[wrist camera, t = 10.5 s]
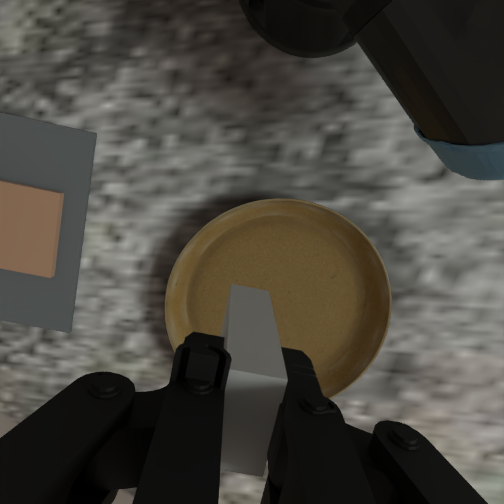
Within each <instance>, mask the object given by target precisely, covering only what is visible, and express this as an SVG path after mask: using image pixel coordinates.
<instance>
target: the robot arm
mask: <svg viewBox="0 0 504 504" xmlns="http://www.w3.org/2000/svg"><path fill="white" fill-rule="evenodd" d="M239 1H240V4H241V7H242V9H243V11H244V13H245V15H246V17H247V19H248V20H249V22H250V23H251V25H252V26H253V28H254V29H255V30H256V31H257V32H258V33H259V35H260V36H261V37H262V38H264V39H265V40H266V41H267V42H268V43H270V44H271V45H273V46H274V47H276V48H277V49H279V50H281V51H283V52H286V53H288V54H291V55H295V56H300V57H307V58H318V57H325V56H330V55H333V54H336V53H339V52H342V51H344V50H346V49H348V48H349V47H351V46H353V45H354V44H356V43H358V44H359V46H360V47H361V49H362V50H363V52H364V53H365V54H366V56H367V57H368V59H369V60H370V62H371V63H372V64H373V66H374V67H375V69H376V70H377V72H378V73H379V75H380V76H381V77H382V79H383V80H384V82H385V83H386V85H387V86H388V87H389V89H390V90H391V92H392V93H393V95H394V96H395V98H396V99H397V100H398V102H399V103H400V105H401V106H402V108H403V109H404V110H405V112H406V113H407V115H408V116H409V118H410V119H411V121H412V122H413V123H414V130H415V132H416V133H417V135H418V136H419V137H420V138H421V139H422V140H423V141H425V142H426V143H427V144H429V145H430V147H431V148H432V149H433V151H434V152H435V153H436V154H437V156H438V157H439V158H440V160H441V161H442V162H443V163H444V165H445V166H446V167H447V168H448V169H450V170H451V171H453V172H455V173H458V174H460V175H461V176H465V177H466V178H470V179H476V180H503V179H504V0H239ZM267 460H268V471H269V473H268V477H267V481H266V484H265V488H264V492H263V496H262V500H261V503H260V504H488V503H487V502H486V501H485V500H484V499H483V498H482V497H481V496H480V495H479V494H478V493H477V492H476V490H475V489H474V488H473V487H472V486H471V485H470V484H469V483H468V482H467V481H466V480H465V479H464V478H463V477H462V476H461V475H460V474H459V472H458V471H457V470H456V469H455V468H454V467H453V466H452V465H451V464H450V463H449V462H448V461H447V460H446V459H445V458H444V457H443V456H442V454H441V453H440V452H439V451H438V450H437V449H436V448H435V447H434V446H433V445H432V444H431V443H430V442H429V441H428V440H427V439H426V438H425V437H424V436H423V435H422V434H420V433H419V432H418V431H416V430H414V429H413V428H411V427H410V426H408V425H406V424H402V423H400V422H394V421H388V420H387V421H380V422H378V423H377V424H376V425H375V427H374V430H373V433H372V434H371V433H368V432H366V431H363V430H360V429H358V428H355V427H353V426H351V425H348V424H346V423H345V421H344V418H343V416H342V413H341V411H340V409H339V408H338V406H337V405H336V404H335V403H334V402H333V401H331V400H330V399H329V398H327V397H325V396H323V393H322V390H321V387H320V385H319V382H318V379H317V377H316V373H315V370H314V367H313V364H312V361H311V359H310V358H309V357H308V356H307V355H306V354H305V353H304V352H303V351H301V350H296V349H291V348H285V347H281V345H280V340H279V335H278V331H277V326H276V321H275V316H274V312H273V307H272V302H271V297H270V293H269V291H266V290H261V289H256V288H251V287H246V286H241V285H235V284H231V287H230V292H229V297H228V301H227V306H226V311H225V315H224V320H223V324H222V329H221V334H220V336H215V335H210V334H205V333H199V332H192V333H191V334H189V335H188V336H186V337H185V339H184V343H182V344H180V345H179V346H178V347H177V348H176V351H175V356H174V361H173V367H172V372H171V377H170V382H169V384H168V385H167V386H165V387H163V388H161V389H158V390H154V391H147V392H135V386H134V384H133V383H132V381H131V380H130V379H129V378H127V377H124V376H122V375H120V374H116V373H112V372H95V373H90V374H86V375H84V376H82V377H80V378H78V379H76V380H75V381H74V382H73V383H71V384H70V385H69V386H67V387H66V388H65V389H63V390H62V391H61V392H60V393H58V394H57V395H56V396H54V397H53V398H52V399H51V400H49V401H48V402H47V403H45V404H44V405H43V406H41V407H40V408H39V409H38V410H36V411H35V412H34V413H32V414H31V415H30V416H28V417H27V418H26V419H25V420H23V421H22V422H21V423H19V424H18V425H17V426H15V427H14V428H13V429H12V430H11V431H9V432H8V433H6V434H5V435H4V436H3V437H1V438H0V504H111V503H112V502H113V501H114V499H115V497H116V495H117V492H118V489H126V488H135V487H137V490H136V493H135V497H134V500H133V503H132V504H218V498H219V482H220V470H224V471H230V472H237V473H243V474H249V475H255V476H261V477H263V474H264V470H265V466H266V462H267Z"/></svg>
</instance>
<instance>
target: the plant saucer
mask: <svg viewBox="0 0 504 504" xmlns="http://www.w3.org/2000/svg"><path fill="white" fill-rule="evenodd" d="M231 284H235V285H241V286H246V287H251V288H256V289H261V290H266V291H269V293H270V297H271V302H272V307H273V312H274V316H275V321H276V326H277V331H278V335H279V340H280V345H281V347H285V348H291V349H296V350H301V351H303V352H304V353H305V354H306V355H307V356H308V357H309V358H310V359H311V361H312V364H313V367H314V370H315V373H316V377H317V379H318V382H319V385H320V387H321V390H322V393H323V396H325V397H327V398H329V399H332V398H334V397H336V396H337V395H339V394H341V393H342V392H344V391H345V390H346V389H348V388H349V387H350V386H351V385H353V384H354V383H355V382H356V381H357V380H358V379H359V378H360V377H361V376H362V375H363V374H364V373H365V372H366V370H367V369H368V368H369V367H370V365H371V364H372V362H373V361H374V359H375V358H376V356H377V355H378V353H379V351H380V349H381V347H382V345H383V343H384V340H385V337H386V334H387V331H388V328H389V323H390V317H391V307H392V299H391V289H390V283H389V278H388V274H387V271H386V268H385V266H384V263H383V261H382V259H381V257H380V255H379V253H378V251H377V249H376V248H375V246H374V245H373V243H372V242H371V241H370V240H369V238H368V237H367V236H366V235H365V234H364V233H363V232H362V230H360V229H359V228H358V227H357V226H356V225H355V224H354V223H352V222H351V221H350V220H348V219H347V218H346V217H344V216H343V215H341V214H339V213H337V212H336V211H334V210H332V209H330V208H327V207H325V206H322V205H319V204H316V203H313V202H309V201H304V200H298V199H289V198H275V199H264V200H258V201H254V202H250V203H246V204H243V205H240V206H238V207H235V208H233V209H230V210H228V211H226V212H224V213H222V214H221V215H219V216H217V217H216V218H214V219H213V220H211V221H210V222H209V223H207V224H206V225H205V226H204V227H202V228H201V229H200V230H199V231H198V232H197V233H196V234H195V235H194V236H193V237H192V238H191V239H190V241H189V242H188V243H187V244H186V246H185V247H184V249H183V250H182V252H181V253H180V255H179V256H178V258H177V260H176V262H175V264H174V266H173V269H172V271H171V274H170V277H169V280H168V283H167V288H166V294H165V309H164V311H165V323H166V328H167V333H168V337H169V340H170V343H171V345H172V348H173V350H174V352H175V351H176V348H177V347H178V346H179V345H180V344H182V343H184V339H185V337H186V336H188V335H189V334H191V333H192V332H199V333H205V334H210V335H215V336H220V334H221V329H222V324H223V320H224V315H225V311H226V306H227V301H228V297H229V292H230V287H231Z"/></svg>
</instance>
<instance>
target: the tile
mask: <svg viewBox="0 0 504 504" xmlns="http://www.w3.org/2000/svg"><path fill="white" fill-rule="evenodd" d="M63 200H64V193H63V192H58V191H54V190H49V189H44V188H39V187H34V186H30V185H25V184H20V183H15V182H10V181H6V180H1V179H0V268H1V269H6V270H11V271H16V272H22V273H27V274H32V275H37V276H42V277H47V278H51V277H53V276H54V275H55V268H56V259H57V251H58V242H59V234H60V225H61V217H62V208H63Z"/></svg>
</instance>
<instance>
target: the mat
mask: <svg viewBox="0 0 504 504" xmlns="http://www.w3.org/2000/svg"><path fill="white" fill-rule="evenodd" d="M96 137H97V133H92V132H88V131H83V130H79V129H74V128H69V127H65V126H60V125H56V124H51V123H47V122H42V121H38V120H33V119H29V118H24V117H19V116H15V115H10V114H6V113H1V112H0V179H1V180H6V181H10V182H15V183H20V184H25V185H30V186H34V187H39V188H44V189H49V190H54V191H58V192H63V193H64V200H63V208H62V217H61V225H60V234H59V242H58V251H57V259H56V268H55V275H54V276H53V277H51V278H47V277H42V276H37V275H32V274H27V273H22V272H16V271H11V270H6V269H1V268H0V320H2V321H7V322H13V323H18V324H24V325H29V326H34V327H40V328H45V329H51V330H56V331H62V332H67V333H70V332H71V328H72V321H73V313H74V305H75V298H76V290H77V282H78V275H79V267H80V259H81V252H82V244H83V236H84V229H85V221H86V213H87V206H88V198H89V190H90V183H91V175H92V167H93V160H94V152H95V144H96Z"/></svg>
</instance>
